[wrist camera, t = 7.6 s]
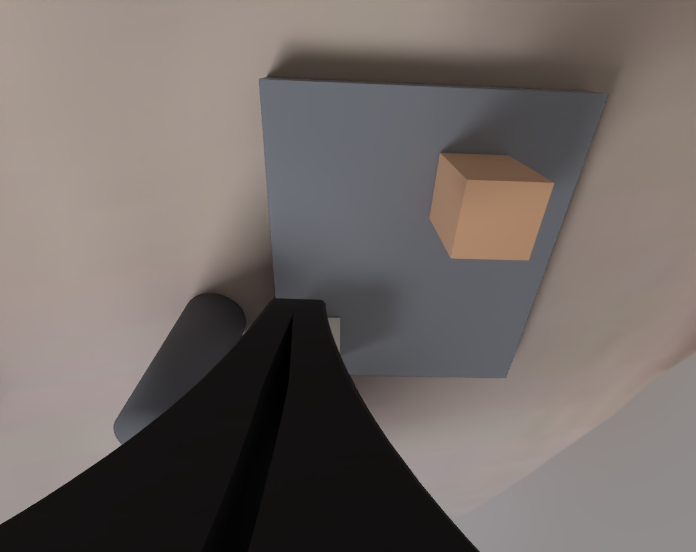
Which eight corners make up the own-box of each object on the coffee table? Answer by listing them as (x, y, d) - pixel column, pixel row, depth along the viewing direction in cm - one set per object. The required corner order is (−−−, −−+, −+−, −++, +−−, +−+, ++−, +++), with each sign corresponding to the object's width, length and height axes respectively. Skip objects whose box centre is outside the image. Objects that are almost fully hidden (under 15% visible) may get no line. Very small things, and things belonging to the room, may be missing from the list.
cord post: (248, 341, 23) (209, 462, 16) (190, 340, 23) (126, 461, 16) (242, 294, 21) (195, 407, 15) (179, 292, 21) (102, 406, 14)
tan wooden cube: (492, 220, 17) (528, 260, 14) (429, 218, 17) (450, 258, 14) (508, 155, 16) (554, 182, 12) (439, 152, 16) (466, 180, 12)
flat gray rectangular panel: (497, 361, 24) (505, 378, 23) (284, 356, 24) (281, 374, 23) (587, 91, 16) (608, 94, 15) (265, 77, 16) (258, 79, 14)
